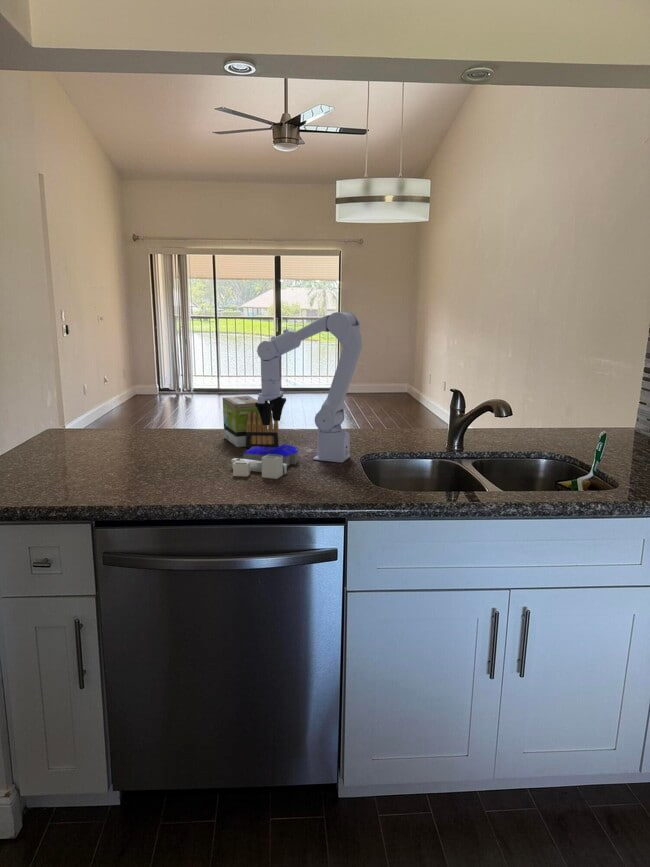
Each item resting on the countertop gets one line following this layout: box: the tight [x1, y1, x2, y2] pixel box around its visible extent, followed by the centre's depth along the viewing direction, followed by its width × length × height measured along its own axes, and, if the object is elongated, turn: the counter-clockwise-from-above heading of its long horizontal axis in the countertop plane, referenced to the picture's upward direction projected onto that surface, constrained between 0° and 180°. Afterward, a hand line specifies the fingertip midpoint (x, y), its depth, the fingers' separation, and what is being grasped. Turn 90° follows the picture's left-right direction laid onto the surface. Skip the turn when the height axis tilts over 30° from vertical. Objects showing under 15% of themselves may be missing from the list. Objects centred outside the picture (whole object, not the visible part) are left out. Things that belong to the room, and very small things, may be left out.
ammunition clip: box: [245, 411, 280, 449], centre depth 190 cm, size 11×2×12 cm, turn 88°
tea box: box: [222, 395, 263, 448], centre depth 198 cm, size 15×10×15 cm, turn 26°
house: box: [242, 443, 299, 468], centre depth 174 cm, size 11×15×5 cm
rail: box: [230, 457, 288, 476], centre depth 164 cm, size 16×2×3 cm, turn 70°
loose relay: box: [232, 461, 251, 477], centre depth 160 cm, size 4×3×4 cm
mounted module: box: [261, 454, 284, 480], centre depth 159 cm, size 4×4×6 cm
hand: (271, 422), depth 184 cm, fingers open, 7 cm apart
